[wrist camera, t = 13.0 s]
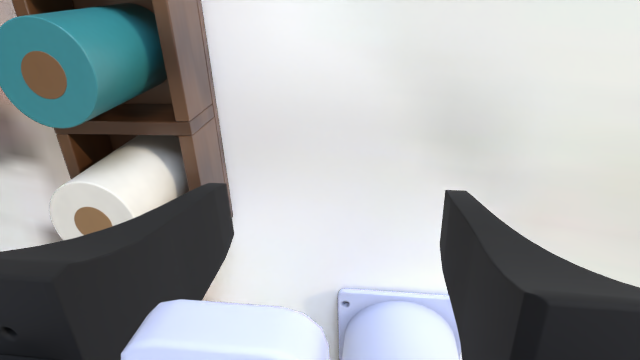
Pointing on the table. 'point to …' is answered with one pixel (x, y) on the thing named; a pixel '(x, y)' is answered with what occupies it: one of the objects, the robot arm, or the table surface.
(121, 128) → the rack
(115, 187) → the roll
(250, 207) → the table surface
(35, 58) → the paper roll
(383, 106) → the table surface
